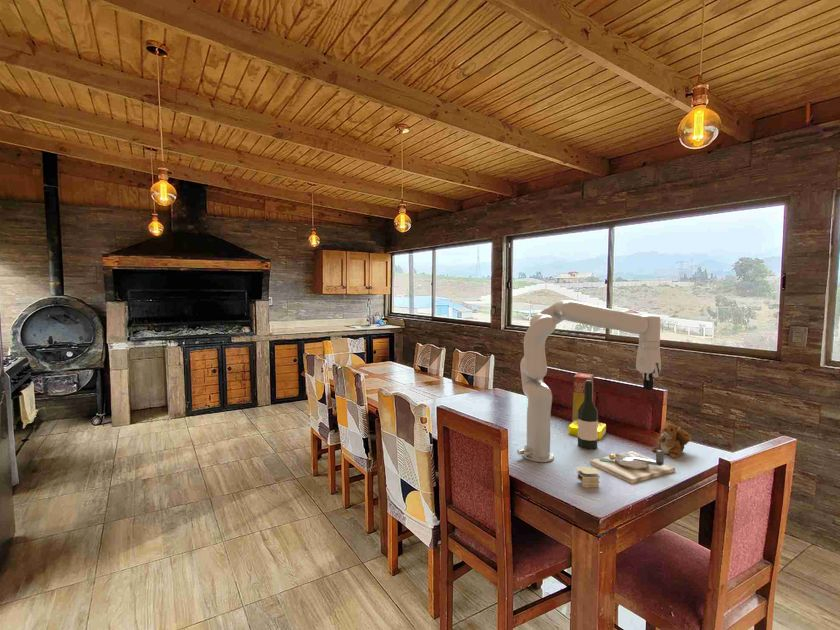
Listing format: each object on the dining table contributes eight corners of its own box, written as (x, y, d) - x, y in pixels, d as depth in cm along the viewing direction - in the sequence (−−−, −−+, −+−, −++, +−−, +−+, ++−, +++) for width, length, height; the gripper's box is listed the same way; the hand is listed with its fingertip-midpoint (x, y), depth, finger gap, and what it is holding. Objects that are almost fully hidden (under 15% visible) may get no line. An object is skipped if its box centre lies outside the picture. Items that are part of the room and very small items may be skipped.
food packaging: (589, 425, 213) (590, 378, 212) (571, 422, 218) (571, 376, 217) (593, 419, 225) (594, 373, 224) (575, 416, 230) (576, 372, 228)
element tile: (575, 426, 213) (575, 417, 212) (606, 432, 204) (606, 422, 204) (567, 434, 200) (567, 425, 200) (599, 441, 192) (600, 431, 191)
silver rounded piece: (607, 464, 160) (608, 447, 160) (610, 454, 170) (610, 438, 170) (664, 474, 151) (664, 457, 150) (662, 463, 161) (663, 446, 161)
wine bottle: (599, 450, 179) (600, 382, 178) (579, 449, 181) (580, 382, 179) (595, 443, 187) (596, 378, 186) (576, 442, 189) (577, 378, 187)
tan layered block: (597, 479, 151) (597, 465, 151) (607, 491, 142) (607, 476, 142) (569, 479, 152) (569, 464, 152) (577, 491, 143) (578, 475, 143)
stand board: (631, 483, 148) (631, 478, 148) (589, 463, 165) (590, 459, 165) (675, 471, 158) (675, 467, 157) (631, 454, 175) (631, 450, 175)
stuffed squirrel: (649, 450, 179) (650, 421, 178) (673, 446, 184) (674, 417, 183) (670, 459, 170) (671, 428, 169) (695, 454, 174) (695, 424, 174)
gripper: (629, 343, 176) (628, 385, 176) (652, 347, 161) (651, 393, 162) (646, 342, 176) (645, 385, 177) (670, 347, 161) (669, 393, 162)
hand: (648, 389), depth 169 cm, fingers closed
